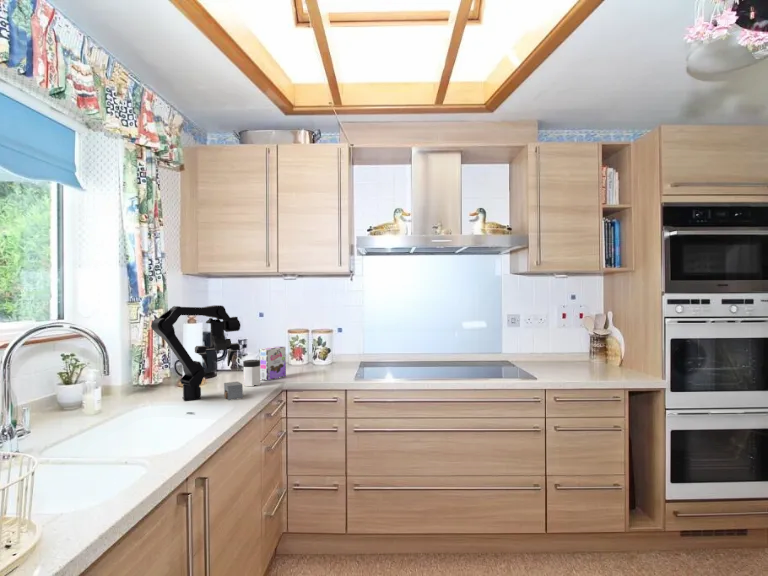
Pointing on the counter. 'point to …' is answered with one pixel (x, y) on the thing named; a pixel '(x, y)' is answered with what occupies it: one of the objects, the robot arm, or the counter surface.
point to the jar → (251, 372)
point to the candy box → (272, 362)
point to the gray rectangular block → (233, 390)
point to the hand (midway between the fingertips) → (217, 367)
